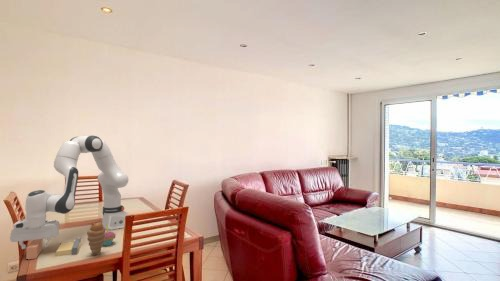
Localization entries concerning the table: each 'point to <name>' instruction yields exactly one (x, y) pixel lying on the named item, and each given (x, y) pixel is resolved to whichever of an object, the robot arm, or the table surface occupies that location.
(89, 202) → the table surface
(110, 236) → the cupcake
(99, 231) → the cat ice cream
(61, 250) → the yellow slab with bar
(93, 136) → the robot arm
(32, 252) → the block
